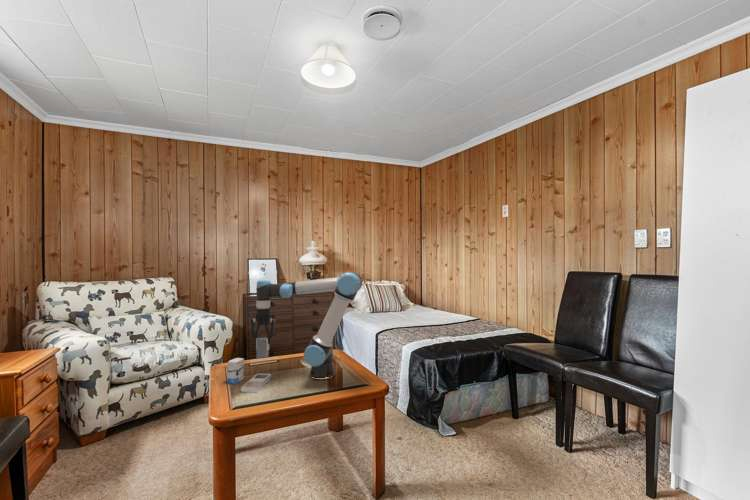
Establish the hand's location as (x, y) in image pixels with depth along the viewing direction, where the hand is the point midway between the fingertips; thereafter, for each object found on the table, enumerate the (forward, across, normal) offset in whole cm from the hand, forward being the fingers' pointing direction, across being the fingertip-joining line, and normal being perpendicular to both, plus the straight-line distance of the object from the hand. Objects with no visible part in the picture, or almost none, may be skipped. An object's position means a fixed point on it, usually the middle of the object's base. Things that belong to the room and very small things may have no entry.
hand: (262, 349), depth 201 cm
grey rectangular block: (+4, 0, 0) cm, 4 cm away
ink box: (+17, +14, +2) cm, 22 cm away
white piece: (+17, 0, +6) cm, 18 cm away
